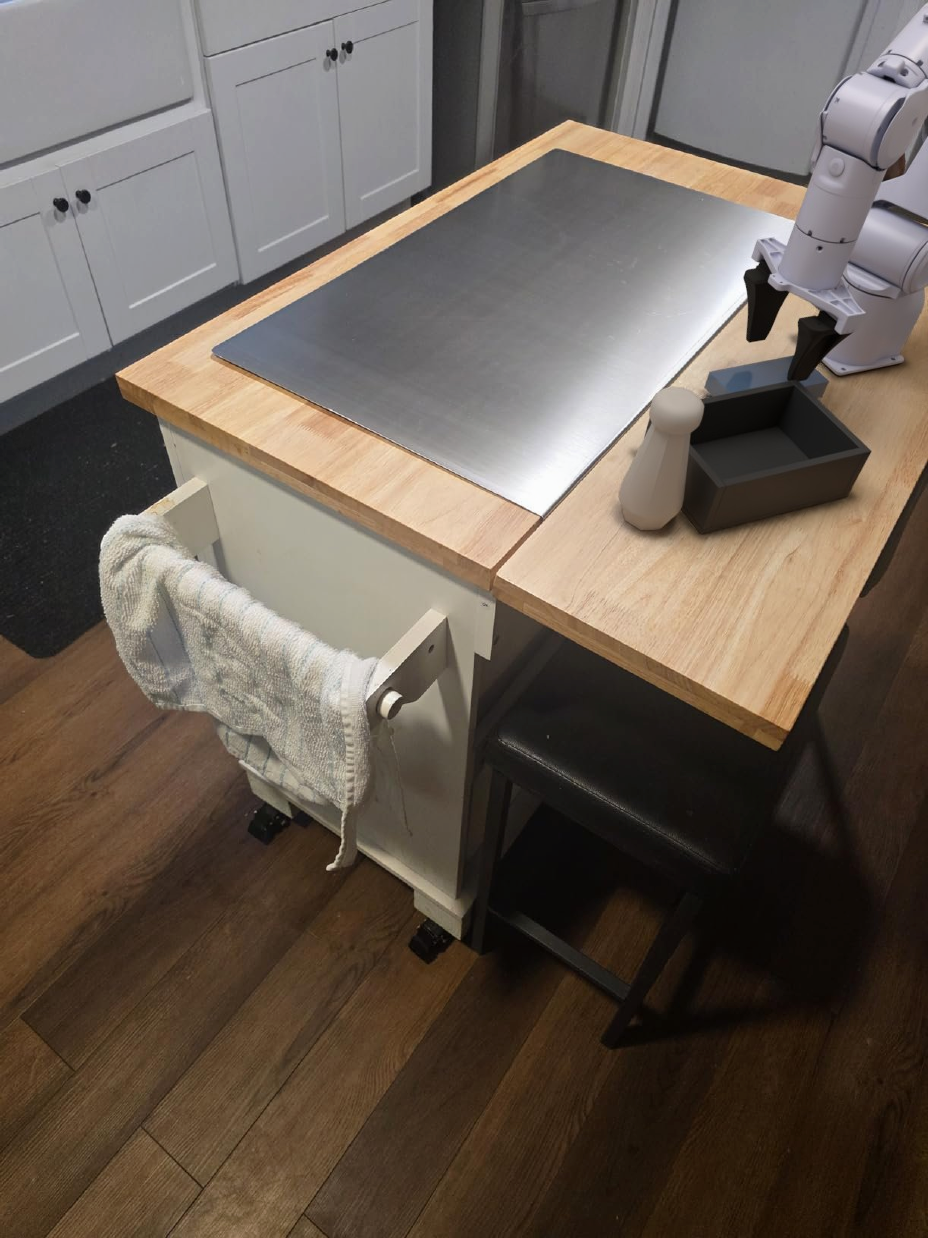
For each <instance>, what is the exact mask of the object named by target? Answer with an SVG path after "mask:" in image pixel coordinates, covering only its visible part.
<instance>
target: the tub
mask: <svg viewBox="0 0 928 1238" xmlns="http://www.w3.org/2000/svg"><path fill="white" fill-rule="evenodd" d="M700 399H701V400H702V402H703V404H704V412H703V416H702V420H701V422H700V424H699V426H698V427H697V428H696V429H695V430H694V431H692V432H691V434H690V443H689V453H688V463H687V473H686V483H685V493H684V500H683V504H682V508H681V511H682V512H683V514H684V515H685V516H686V517H687V519H688V520H689V521H690V523H691V524H692V525H693V526H694V527H695V528H696V530H697V531H698V532H699V533H700V535H705V534H708V533H711V532H715V531H716V532H717V531H719V530H723V529H728V528H731V527H735V526H739V525H742V524H747V523H750V522H755V521H759V520H762V519H765V518H770V517H775V516H778V515H783V514H785V513H789V512H793V511H797V510H801V509H805V508H809V507H813V506H817V505H820V504H824V503H828V502H832V501H836V500H837V501H838V500H841V499H845V498H847V497H848V496H849V494H850V493H851V491H852V489H853V488H854V485H855V483H856V481H857V480H858V478H859V476H860V474H861V472H862V471H863V468H864V466H865V465H866V463H867V461H868V459H869V457H870V455H871V454H872V452H873V451H872V450H871V449H870V448H869V447H868V446H867V445H866V444H865V443H864V441H862V440H861V439H860V438H859V437H858V436H857V435H856V434H854V432H852V430H850V429H849V427H847V426H846V425H845V424H844V423H843V422H842V421H841V420H840V419H839V418H838V417H837V416H836V415H835V414H834V413H832V411H831V410H829V409H828V407H826V406H825V405H824V404H823V403H822V402H821V401H820V400H819V399H818V398H816V397H815V396H814V395H813V394H812V393H811V392H810V391H808V390H807V389H806V388H805V387H804V386H803V385H802V384H801V383H800V382H799V381H798V380H797V379H795V380H791V381H786V382H781V383H776V384H771V385H767V386H762V387H757V388H752V389H747V390H742V391H737V392H732V393H727V394H722V395H718V396H713V397H712V396H708V397H704V398H703V397H702V398H700ZM651 424H652V422H651V419H650V417H649V418H648V422H647V425H646V429H645V433H644V436H643V439H644V438H645V436H646V434H647V432H648V430H649V428H650V426H651Z"/></svg>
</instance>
